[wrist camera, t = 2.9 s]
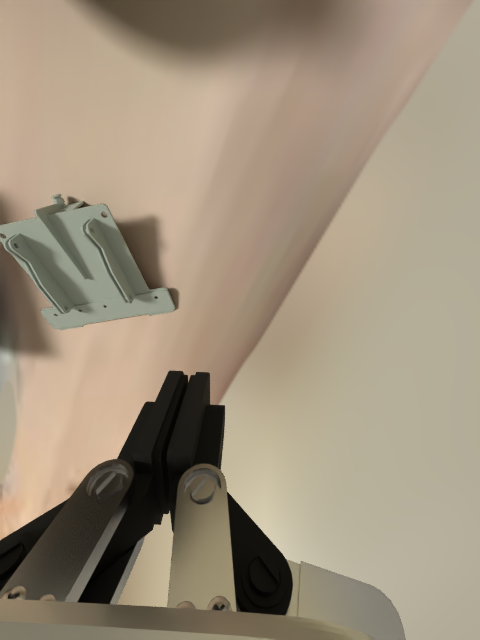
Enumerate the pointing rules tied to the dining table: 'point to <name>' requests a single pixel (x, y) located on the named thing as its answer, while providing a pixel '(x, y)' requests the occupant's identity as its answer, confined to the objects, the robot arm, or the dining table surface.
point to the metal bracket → (81, 265)
